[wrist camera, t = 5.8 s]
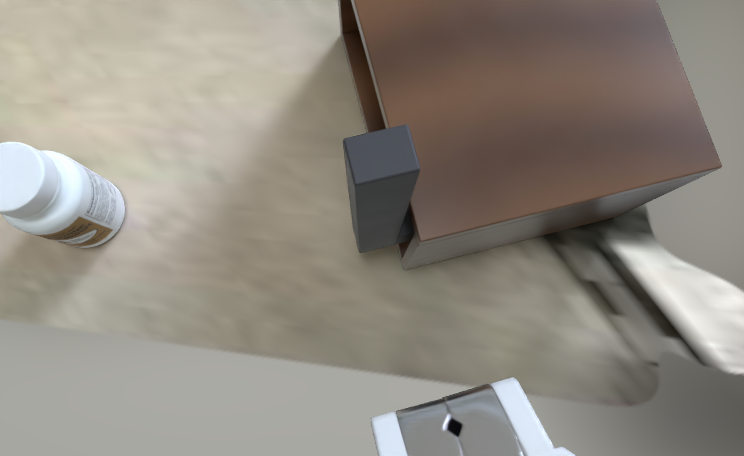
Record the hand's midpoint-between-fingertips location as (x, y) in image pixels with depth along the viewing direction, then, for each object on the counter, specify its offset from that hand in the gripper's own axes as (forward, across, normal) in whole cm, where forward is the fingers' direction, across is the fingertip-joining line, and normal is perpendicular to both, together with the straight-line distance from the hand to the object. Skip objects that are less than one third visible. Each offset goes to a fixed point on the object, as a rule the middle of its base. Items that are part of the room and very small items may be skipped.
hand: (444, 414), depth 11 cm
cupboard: (+24, -10, +6) cm, 26 cm away
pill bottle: (+24, +15, +6) cm, 29 cm away
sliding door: (+20, -2, +7) cm, 21 cm away
